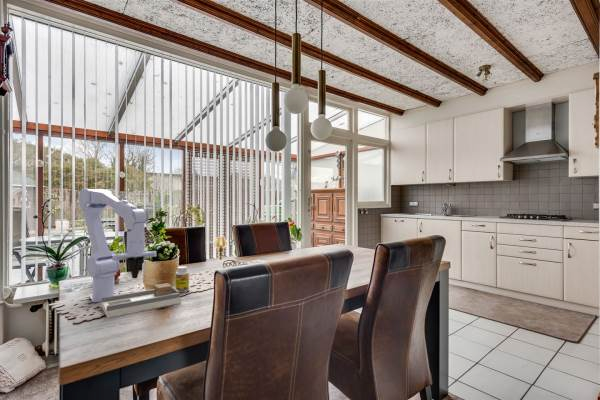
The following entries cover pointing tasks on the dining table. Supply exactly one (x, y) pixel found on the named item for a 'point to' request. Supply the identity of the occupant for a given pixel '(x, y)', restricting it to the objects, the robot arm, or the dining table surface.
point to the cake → (116, 272)
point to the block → (162, 289)
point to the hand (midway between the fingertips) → (134, 277)
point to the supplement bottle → (182, 279)
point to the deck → (137, 302)
